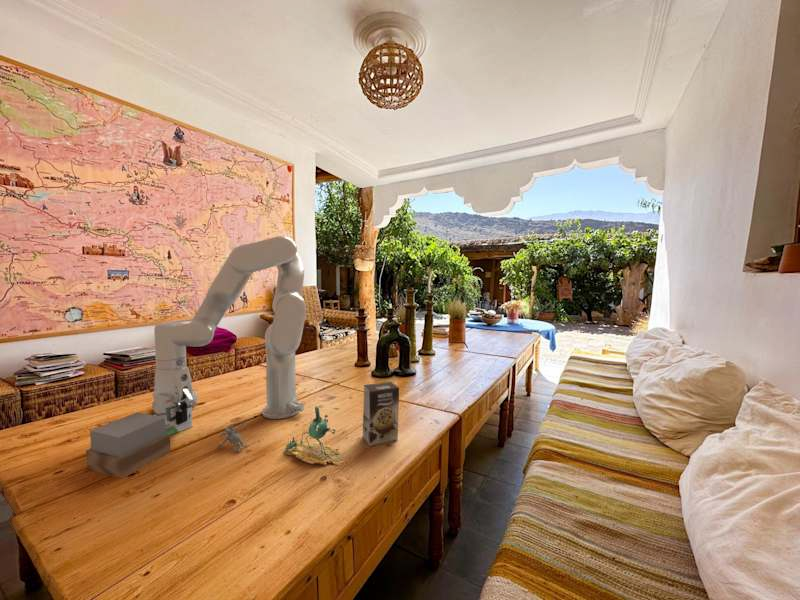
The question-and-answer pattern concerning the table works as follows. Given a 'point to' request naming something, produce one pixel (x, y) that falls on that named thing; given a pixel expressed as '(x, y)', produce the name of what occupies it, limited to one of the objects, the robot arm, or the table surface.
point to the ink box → (170, 414)
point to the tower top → (127, 434)
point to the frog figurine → (315, 445)
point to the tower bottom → (128, 458)
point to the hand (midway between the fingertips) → (173, 420)
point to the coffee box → (380, 413)
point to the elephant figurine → (233, 437)
